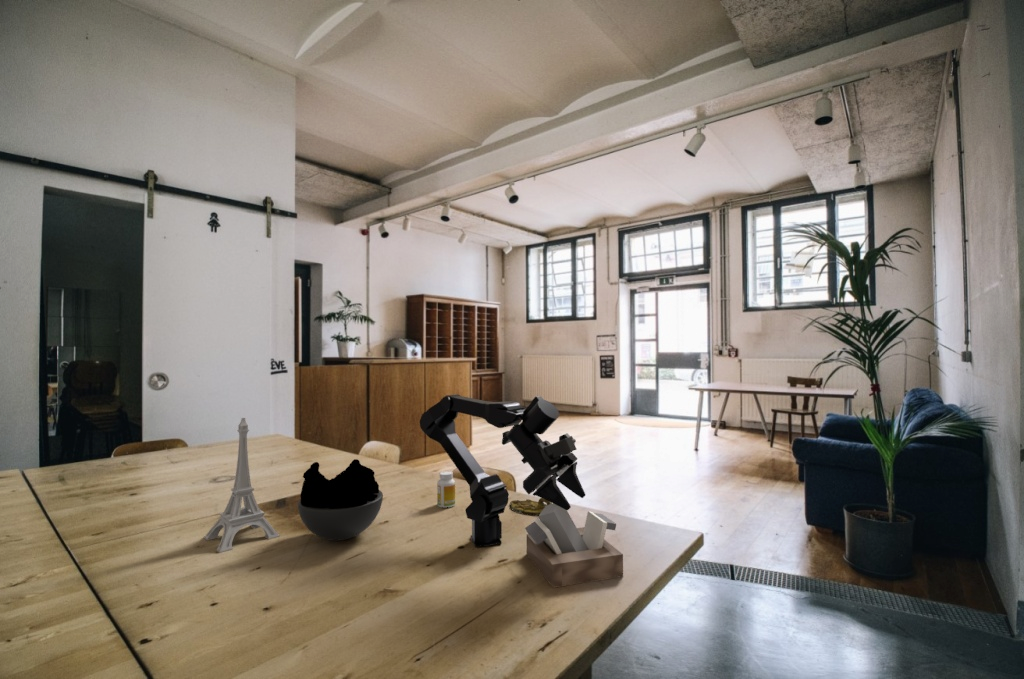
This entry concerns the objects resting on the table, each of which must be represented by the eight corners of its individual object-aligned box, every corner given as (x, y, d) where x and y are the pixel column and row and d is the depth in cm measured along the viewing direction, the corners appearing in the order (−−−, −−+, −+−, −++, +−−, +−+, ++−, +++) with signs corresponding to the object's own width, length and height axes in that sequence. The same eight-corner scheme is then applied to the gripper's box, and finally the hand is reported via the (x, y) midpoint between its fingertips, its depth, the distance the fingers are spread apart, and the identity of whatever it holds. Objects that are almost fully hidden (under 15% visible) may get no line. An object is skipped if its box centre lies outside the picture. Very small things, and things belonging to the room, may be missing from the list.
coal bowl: (399, 530, 122) (399, 457, 123) (341, 561, 104) (342, 475, 105) (341, 518, 131) (341, 451, 131) (278, 545, 113) (279, 466, 113)
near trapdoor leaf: (535, 539, 96) (549, 530, 97) (524, 527, 103) (537, 518, 104) (555, 577, 97) (569, 567, 98) (543, 562, 104) (556, 553, 105)
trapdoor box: (552, 587, 92) (552, 564, 92) (526, 554, 107) (526, 534, 108) (623, 576, 97) (622, 554, 97) (588, 545, 112) (588, 526, 112)
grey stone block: (564, 565, 102) (537, 516, 102) (571, 552, 106) (545, 505, 106) (581, 561, 100) (553, 511, 100) (588, 548, 103) (561, 500, 104)
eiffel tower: (203, 538, 118) (205, 418, 119) (260, 523, 128) (261, 413, 128) (219, 553, 109) (221, 423, 110) (279, 536, 119) (281, 417, 119)
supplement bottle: (458, 503, 144) (458, 471, 144) (450, 509, 139) (450, 475, 139) (442, 501, 146) (442, 470, 146) (434, 507, 141) (434, 474, 141)
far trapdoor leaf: (601, 513, 108) (588, 511, 108) (617, 524, 101) (603, 522, 100) (592, 554, 108) (578, 552, 107) (608, 568, 100) (593, 566, 100)
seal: (501, 513, 138) (546, 522, 130) (500, 498, 138) (545, 506, 130) (518, 501, 146) (561, 509, 138) (517, 487, 146) (560, 494, 138)
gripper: (536, 429, 97) (587, 491, 91) (569, 418, 113) (614, 469, 108) (502, 463, 100) (550, 525, 95) (539, 448, 117) (582, 499, 111)
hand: (576, 502), depth 102 cm, fingers open, 9 cm apart
